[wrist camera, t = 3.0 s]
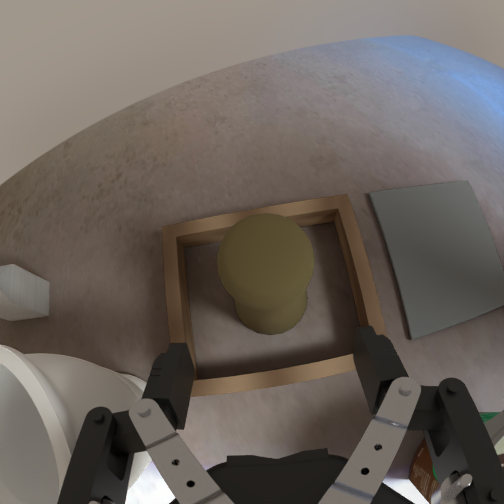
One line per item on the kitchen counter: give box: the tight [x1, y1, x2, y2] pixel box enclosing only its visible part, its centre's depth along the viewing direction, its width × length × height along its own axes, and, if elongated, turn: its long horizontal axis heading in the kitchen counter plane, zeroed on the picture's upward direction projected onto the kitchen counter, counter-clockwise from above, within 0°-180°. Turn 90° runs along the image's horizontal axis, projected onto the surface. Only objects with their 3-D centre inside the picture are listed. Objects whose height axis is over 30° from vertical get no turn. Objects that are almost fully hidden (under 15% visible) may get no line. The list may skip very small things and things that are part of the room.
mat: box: [368, 181, 504, 340], centre depth 25 cm, size 13×14×1 cm
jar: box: [0, 345, 152, 504], centre depth 15 cm, size 11×10×15 cm
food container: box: [409, 410, 504, 504], centre depth 14 cm, size 12×6×10 cm, turn 96°
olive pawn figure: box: [217, 213, 315, 335], centre depth 20 cm, size 6×6×11 cm
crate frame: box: [162, 194, 387, 397], centre depth 24 cm, size 16×14×2 cm
